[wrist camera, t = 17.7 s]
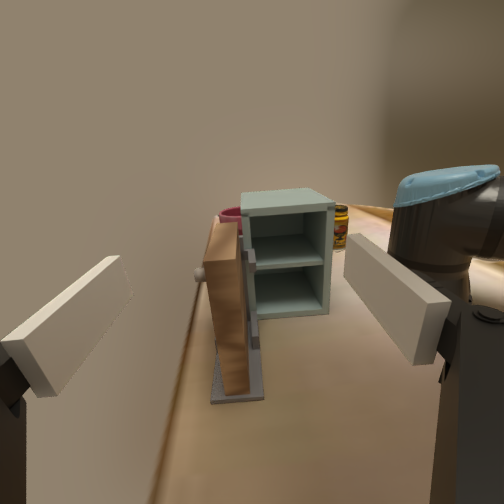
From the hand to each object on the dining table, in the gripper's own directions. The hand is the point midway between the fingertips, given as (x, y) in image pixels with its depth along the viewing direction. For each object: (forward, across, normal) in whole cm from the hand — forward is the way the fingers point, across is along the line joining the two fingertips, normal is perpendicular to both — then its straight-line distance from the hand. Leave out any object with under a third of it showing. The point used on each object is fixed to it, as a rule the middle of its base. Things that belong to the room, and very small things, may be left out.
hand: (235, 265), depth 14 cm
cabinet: (+22, +4, -22) cm, 31 cm away
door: (+14, -2, -21) cm, 25 cm away
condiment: (+54, +25, -23) cm, 64 cm away
